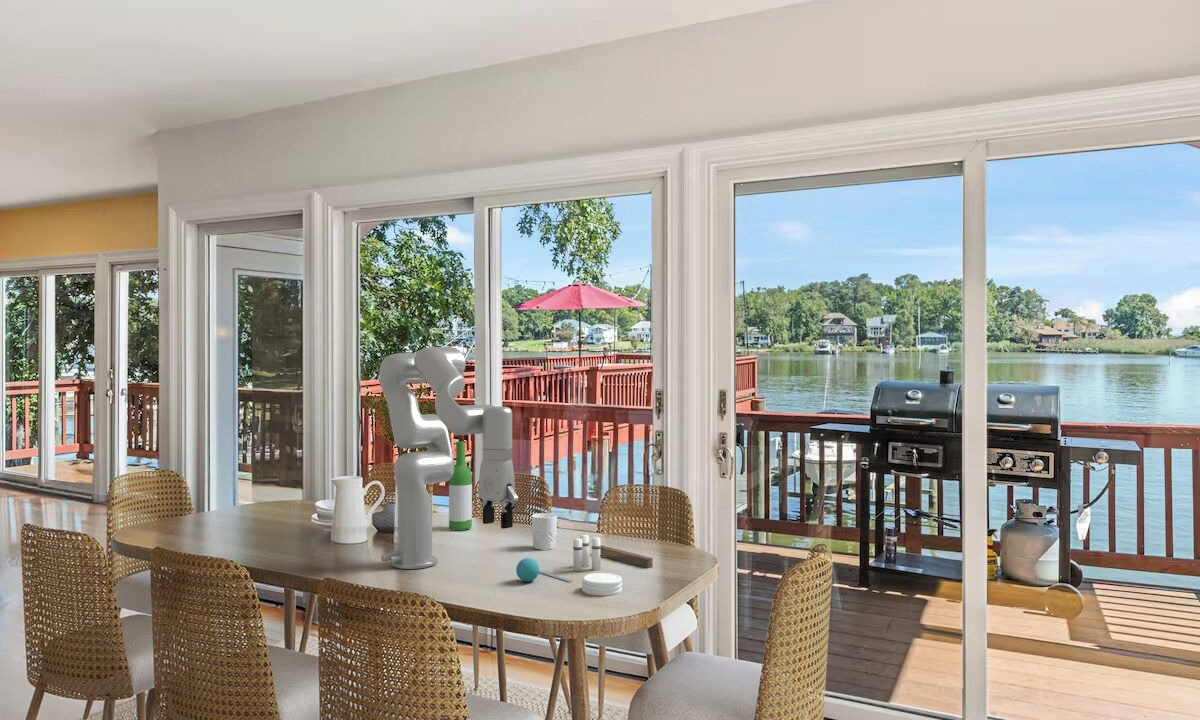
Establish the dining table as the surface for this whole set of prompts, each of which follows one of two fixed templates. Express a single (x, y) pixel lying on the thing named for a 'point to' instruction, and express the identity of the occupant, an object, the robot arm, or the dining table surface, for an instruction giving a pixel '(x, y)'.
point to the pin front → (577, 554)
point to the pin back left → (585, 550)
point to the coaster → (602, 584)
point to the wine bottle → (460, 492)
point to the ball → (527, 569)
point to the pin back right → (596, 553)
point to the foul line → (555, 576)
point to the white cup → (544, 530)
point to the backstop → (626, 557)
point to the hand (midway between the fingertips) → (497, 525)
